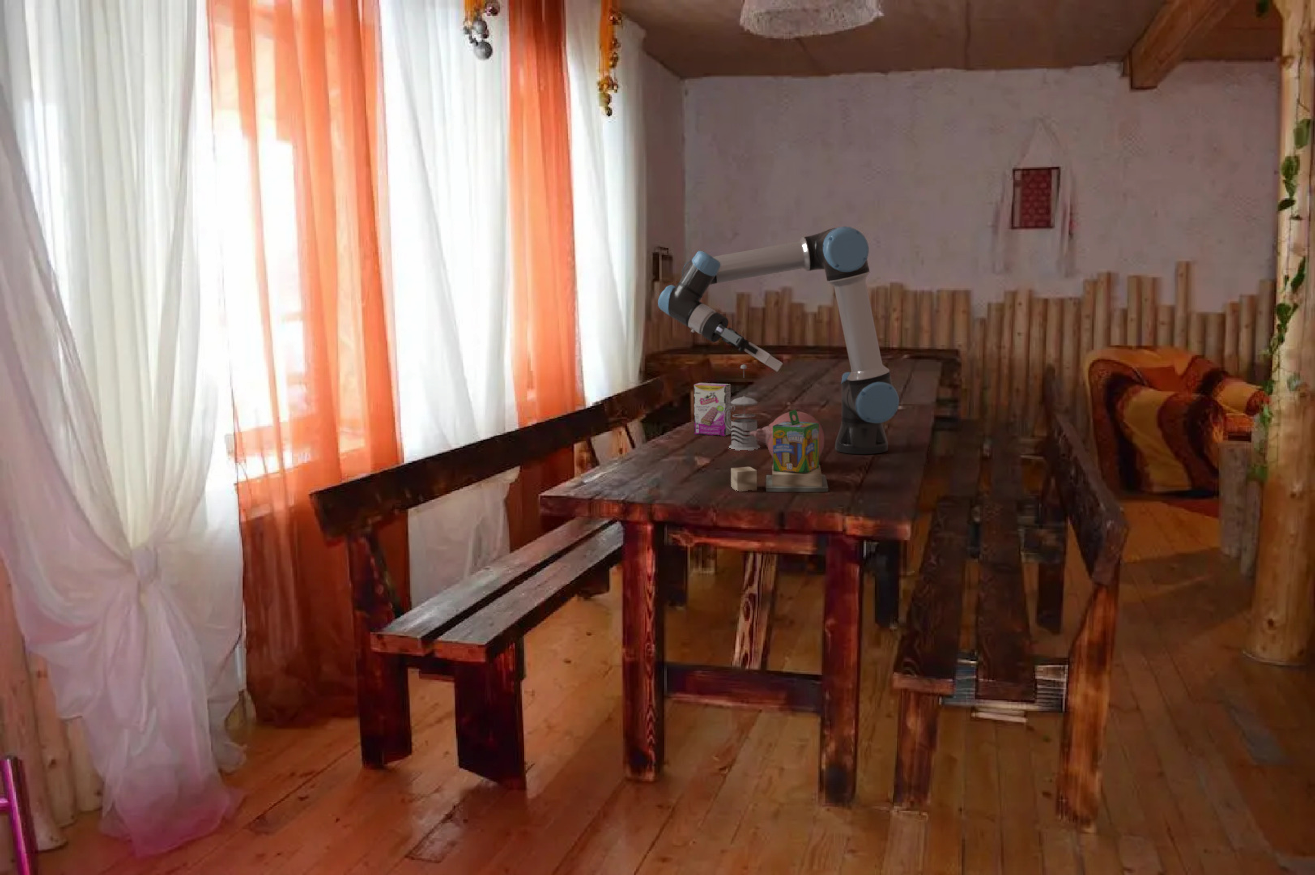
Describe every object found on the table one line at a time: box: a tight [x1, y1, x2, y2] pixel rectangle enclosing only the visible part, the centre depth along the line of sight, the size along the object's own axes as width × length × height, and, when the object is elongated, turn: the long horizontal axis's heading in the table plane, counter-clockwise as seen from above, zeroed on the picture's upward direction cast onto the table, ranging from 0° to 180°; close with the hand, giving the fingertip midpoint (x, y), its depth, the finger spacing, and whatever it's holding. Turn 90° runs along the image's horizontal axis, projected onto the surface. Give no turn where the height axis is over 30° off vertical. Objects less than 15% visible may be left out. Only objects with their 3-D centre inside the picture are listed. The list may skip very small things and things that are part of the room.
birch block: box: [730, 466, 758, 492], centre depth 266 cm, size 5×5×5 cm
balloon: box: [749, 410, 825, 458], centre depth 289 cm, size 15×20×15 cm
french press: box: [724, 364, 761, 451], centre depth 320 cm, size 10×12×25 cm
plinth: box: [765, 464, 829, 493], centre depth 268 cm, size 15×15×4 cm
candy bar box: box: [693, 382, 732, 437], centre depth 344 cm, size 11×5×16 cm, turn 65°
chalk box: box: [772, 409, 820, 473], centre depth 267 cm, size 9×9×15 cm
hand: (774, 363), depth 281 cm, fingers open, 13 cm apart
